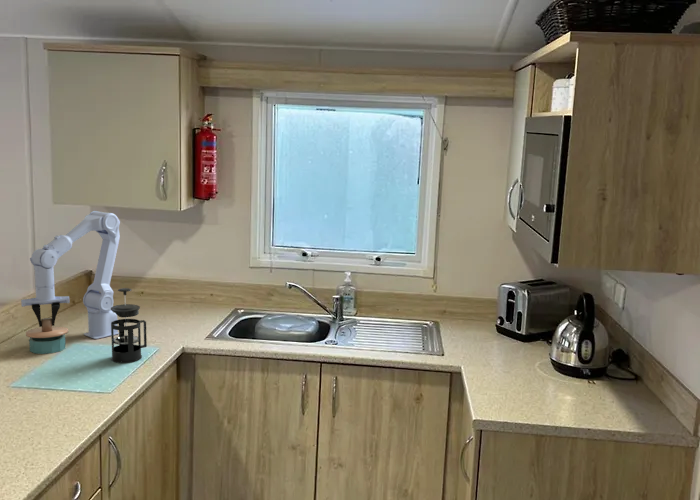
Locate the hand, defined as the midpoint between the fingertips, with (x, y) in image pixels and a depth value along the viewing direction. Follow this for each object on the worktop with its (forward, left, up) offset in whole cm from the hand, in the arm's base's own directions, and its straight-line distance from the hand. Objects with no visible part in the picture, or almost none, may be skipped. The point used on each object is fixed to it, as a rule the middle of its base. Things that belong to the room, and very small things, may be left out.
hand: (46, 325), depth 231 cm
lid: (0, 0, -2) cm, 3 cm away
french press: (-13, +27, -8) cm, 31 cm away
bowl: (0, 0, -8) cm, 8 cm away
